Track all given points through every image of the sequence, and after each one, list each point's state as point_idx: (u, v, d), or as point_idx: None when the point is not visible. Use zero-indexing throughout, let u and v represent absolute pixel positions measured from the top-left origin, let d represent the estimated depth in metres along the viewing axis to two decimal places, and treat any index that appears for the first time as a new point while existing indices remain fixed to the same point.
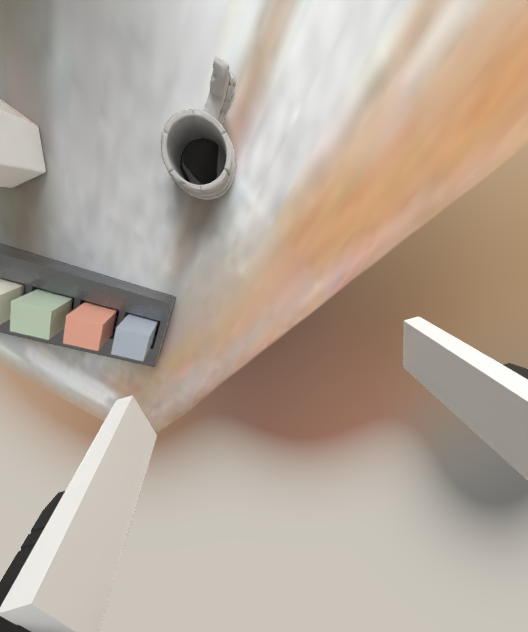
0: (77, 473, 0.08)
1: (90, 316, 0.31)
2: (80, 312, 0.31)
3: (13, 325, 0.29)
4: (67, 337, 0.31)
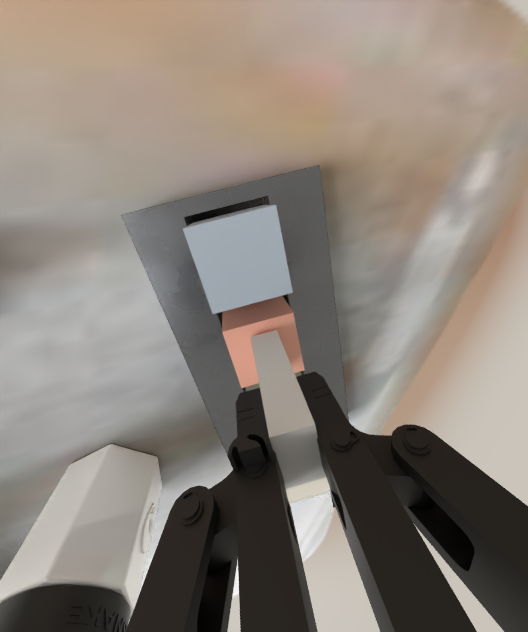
0: (258, 376, 0.11)
1: None
2: None
3: None
4: None
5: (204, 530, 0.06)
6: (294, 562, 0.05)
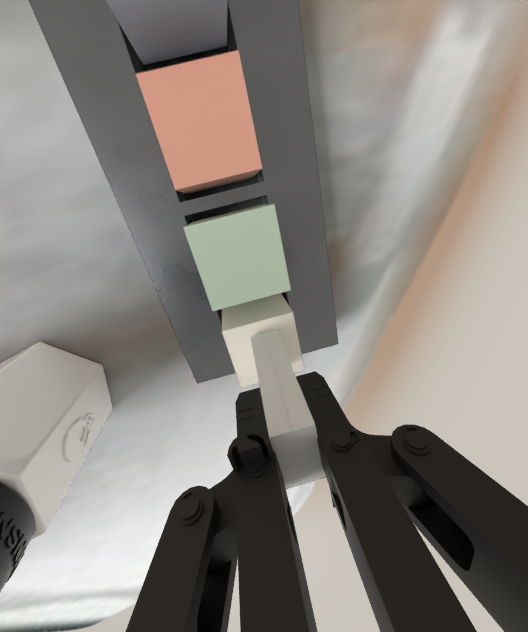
0: None
1: None
2: None
3: (271, 287, 0.12)
4: (238, 162, 0.11)
5: (204, 530, 0.06)
6: (294, 562, 0.05)
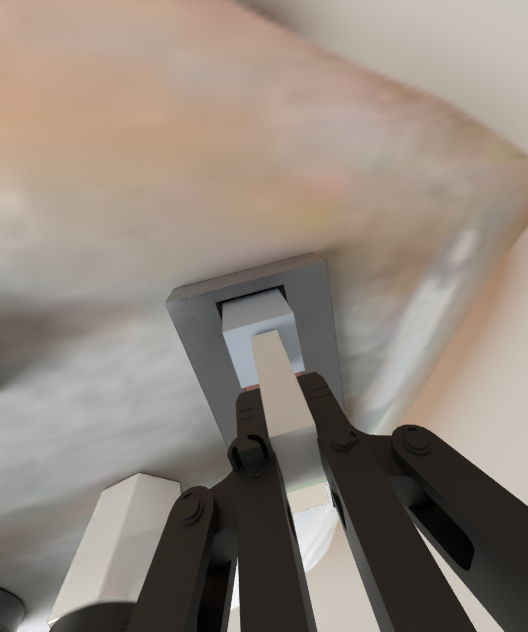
0: None
1: None
2: None
3: (315, 481, 0.20)
4: None
5: (204, 530, 0.06)
6: (294, 562, 0.05)
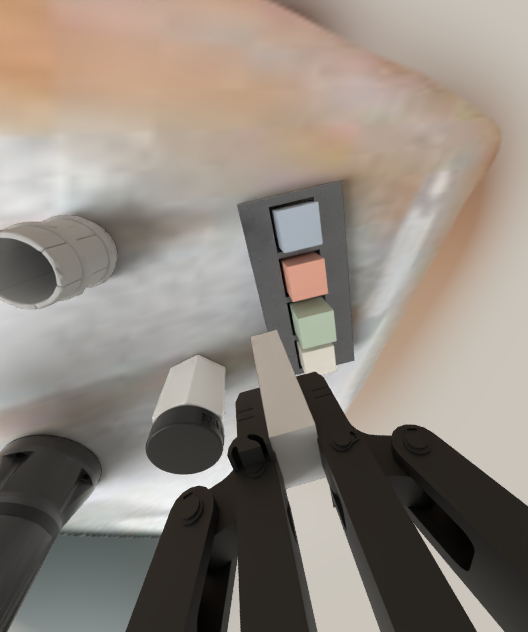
0: None
1: (288, 281, 0.28)
2: (289, 290, 0.29)
3: (328, 340, 0.29)
4: (319, 292, 0.28)
5: (204, 530, 0.06)
6: (294, 562, 0.05)
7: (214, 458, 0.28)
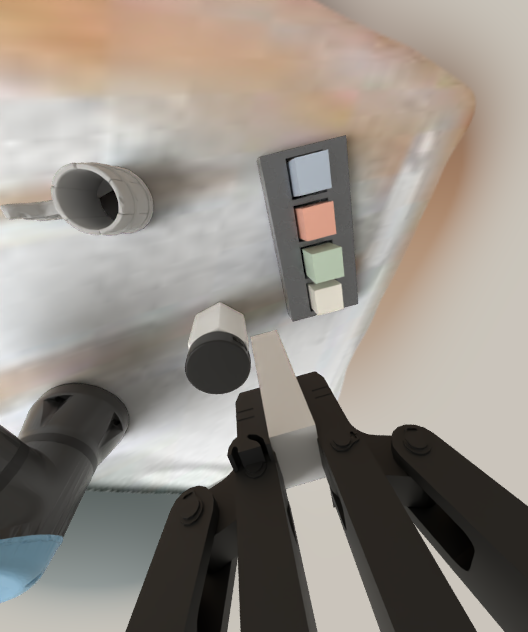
0: None
1: (302, 224, 0.33)
2: (302, 233, 0.34)
3: (337, 275, 0.34)
4: (328, 232, 0.33)
5: (204, 530, 0.06)
6: (294, 562, 0.05)
7: (243, 377, 0.32)
